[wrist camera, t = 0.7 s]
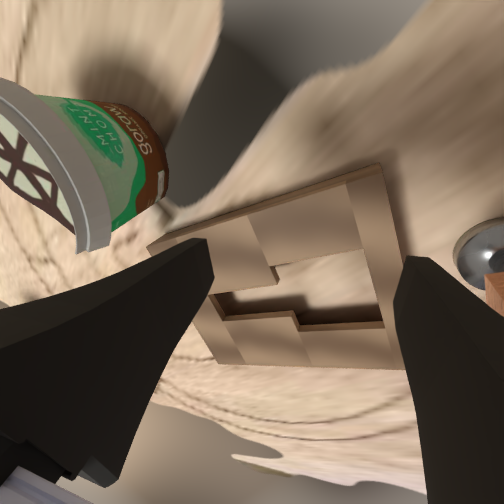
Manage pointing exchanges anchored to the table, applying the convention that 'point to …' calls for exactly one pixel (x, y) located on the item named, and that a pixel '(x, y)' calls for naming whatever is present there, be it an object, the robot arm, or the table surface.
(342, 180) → the keyhole plate
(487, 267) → the key peg
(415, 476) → the table surface
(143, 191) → the food container
